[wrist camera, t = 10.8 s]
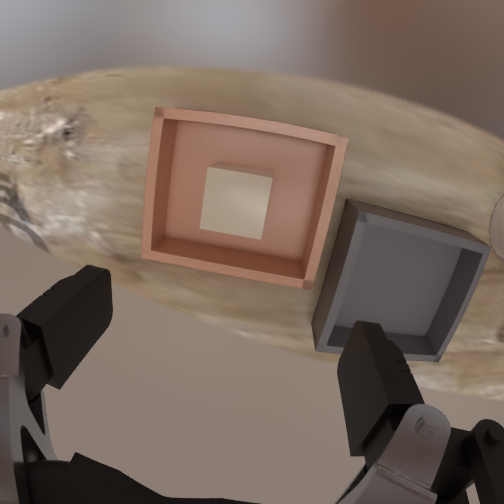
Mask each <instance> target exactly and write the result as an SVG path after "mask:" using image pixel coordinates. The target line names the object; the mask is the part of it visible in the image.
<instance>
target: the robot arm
mask: <svg viewBox="0 0 504 504" xmlns="http://www.w3.org/2000/svg"><path fill="white" fill-rule="evenodd" d="M112 314H113V306H112V289H111V274H110V271H109V270H108V269H104V268H100V267H96V266H92V265H86V266H85V267H84V268H82V269H81V270H80V271H78V272H77V273H76V274H75V275H72V276H69V277H67V278H64V279H62V280H60V281H58V282H57V283H56V284H54V285H53V286H52V287H51V288H50V290H49V289H48V290H47V291H46V292H44V293H43V295H42V296H39V297H38V298H37V299H36V300H34V301H33V302H32V303H31V304H30V305H29V306H27V307H26V308H25V309H24V310H22V312H20V313H19V314H18V315H17V316H14V315H11V314H0V504H259V503H249V502H243V501H235V500H229V499H224V498H170V497H165V496H162V495H160V494H158V493H156V492H154V491H152V490H151V489H149V488H147V487H145V486H143V485H142V484H140V483H138V482H137V481H135V480H133V479H132V478H130V477H129V476H127V475H125V474H124V473H122V472H121V471H119V470H117V469H114V468H112V467H109V466H107V465H104V464H101V463H99V462H97V461H95V460H92V459H90V458H88V457H85V456H83V455H81V454H79V453H76V452H75V454H74V456H73V458H72V460H71V461H70V462H68V461H60V460H57V458H56V455H55V453H54V451H53V448H52V444H51V440H50V434H49V427H48V421H47V413H46V404H45V395H44V392H43V388H44V386H45V385H46V384H49V385H51V386H53V387H55V388H57V389H61V387H62V386H63V384H64V383H65V382H66V381H67V379H68V378H69V377H70V375H71V374H72V373H73V371H74V370H75V369H76V367H77V366H78V365H79V363H80V362H81V361H82V360H83V358H84V357H85V356H86V354H87V353H88V352H89V350H90V349H91V348H92V347H93V345H94V344H95V343H96V341H97V340H98V339H99V338H100V336H101V335H102V334H103V333H104V332H105V330H106V329H107V328H108V326H109V324H110V322H111V319H112ZM410 372H411V370H410V368H409V366H408V364H406V359H405V357H404V355H403V353H402V351H401V350H400V349H399V348H398V346H397V345H396V344H395V343H394V342H393V341H392V340H387V337H386V335H385V333H384V331H383V328H382V326H381V325H380V324H379V323H374V322H367V321H360V320H357V321H356V322H355V323H354V325H353V327H352V330H351V332H350V335H349V337H348V340H347V342H346V345H345V347H344V349H343V352H342V354H341V356H340V359H339V363H338V369H337V376H338V381H339V387H340V392H341V398H342V404H343V410H344V416H345V422H346V429H347V435H348V441H349V449H350V456H365V462H366V463H365V464H364V465H363V466H362V468H361V469H360V470H359V472H358V473H357V475H356V476H355V477H354V479H353V480H352V481H351V483H350V484H349V485H348V487H347V488H346V489H345V490H344V492H343V493H342V494H341V496H340V497H339V498H338V499H337V501H336V502H335V503H334V504H469V500H468V496H467V492H466V489H467V488H468V487H470V486H471V485H472V484H473V483H475V487H476V490H477V494H478V498H479V501H480V504H504V428H503V427H502V426H501V425H500V424H499V423H497V422H495V421H493V420H489V419H484V420H481V421H479V422H478V423H477V424H476V425H475V427H474V428H473V429H472V430H471V431H466V430H461V429H457V428H452V427H450V423H449V421H448V419H447V418H446V416H445V415H444V414H443V413H442V412H441V411H440V410H438V409H437V408H435V407H433V406H430V405H426V404H425V403H424V400H423V398H422V396H421V393H420V391H419V389H418V386H417V384H416V382H415V379H414V377H413V375H412V373H410Z"/></svg>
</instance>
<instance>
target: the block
mask: <svg viewBox="0 0 504 504" xmlns="http://www.w3.org/2000/svg"><path fill="white" fill-rule="evenodd" d="M272 180H273V170H269V169H263V168H257V167H252V166H246V165H240V164H234V163H228V162H221V161H220V162H218V163H216V164H213V165H211V166H209V167H208V169H207V176H206V183H205V190H204V198H203V205H202V213H201V221H200V229H204V230H210V231H215V232H221V233H226V234H232V235H237V236H243V237H248V238H254V239H259V240H261V238H262V233H263V227H264V222H265V217H266V212H267V206H268V201H269V196H270V190H271V185H272Z"/></svg>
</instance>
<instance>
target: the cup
mask: <svg viewBox="0 0 504 504" xmlns="http://www.w3.org/2000/svg"><path fill="white" fill-rule="evenodd" d="M490 240H491V244H492V247H493V249H494V251H495V253H496V254H497V255H498V256H499V257H501V258H502V259H504V195H503V196H502V198H501V199H500V200H499V202H498V203H497V205H496V207H495V210H494V212H493V215H492V219H491V225H490Z"/></svg>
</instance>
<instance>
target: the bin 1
mask: <svg viewBox="0 0 504 504" xmlns="http://www.w3.org/2000/svg"><path fill="white" fill-rule="evenodd" d="M347 143H348V138H347V137H343V136H339V135H335V134H331V133H327V132H322V131H318V130H314V129H309V128H305V127H300V126H295V125H290V124H285V123H279V122H274V121H268V120H263V119H257V118H250V117H244V116H237V115H230V114H222V113H214V112H205V111H196V110H185V109H173V108H158V107H155V112H154V119H153V126H152V133H151V141H150V149H149V157H148V167H147V177H146V188H145V201H144V215H143V234H142V258H146V259H151V260H156V261H161V262H165V263H170V264H175V265H180V266H185V267H190V268H195V269H200V270H205V271H210V272H215V273H220V274H226V275H231V276H236V277H241V278H247V279H252V280H257V281H263V282H268V283H274V284H279V285H285V286H290V287H296V288H302V289H307V290H312V287H313V283H314V280H315V276H316V272H317V269H318V265H319V261H320V258H321V254H322V250H323V246H324V243H325V239H326V235H327V231H328V227H329V223H330V219H331V215H332V211H333V206H334V202H335V198H336V194H337V189H338V185H339V181H340V176H341V172H342V167H343V162H344V158H345V153H346V148H347ZM220 161H221V162H228V163H234V164H240V165H246V166H252V167H257V168H263V169H269V170H273V180H272V185H271V190H270V196H269V201H268V206H267V212H266V217H265V222H264V227H263V233H262V238H261V240H259V239H254V238H248V237H243V236H237V235H232V234H226V233H221V232H215V231H210V230H204V229H200V221H201V213H202V205H203V198H204V190H205V183H206V176H207V169H208V167H209V166H211V165H213V164H216V163H218V162H220Z"/></svg>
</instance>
